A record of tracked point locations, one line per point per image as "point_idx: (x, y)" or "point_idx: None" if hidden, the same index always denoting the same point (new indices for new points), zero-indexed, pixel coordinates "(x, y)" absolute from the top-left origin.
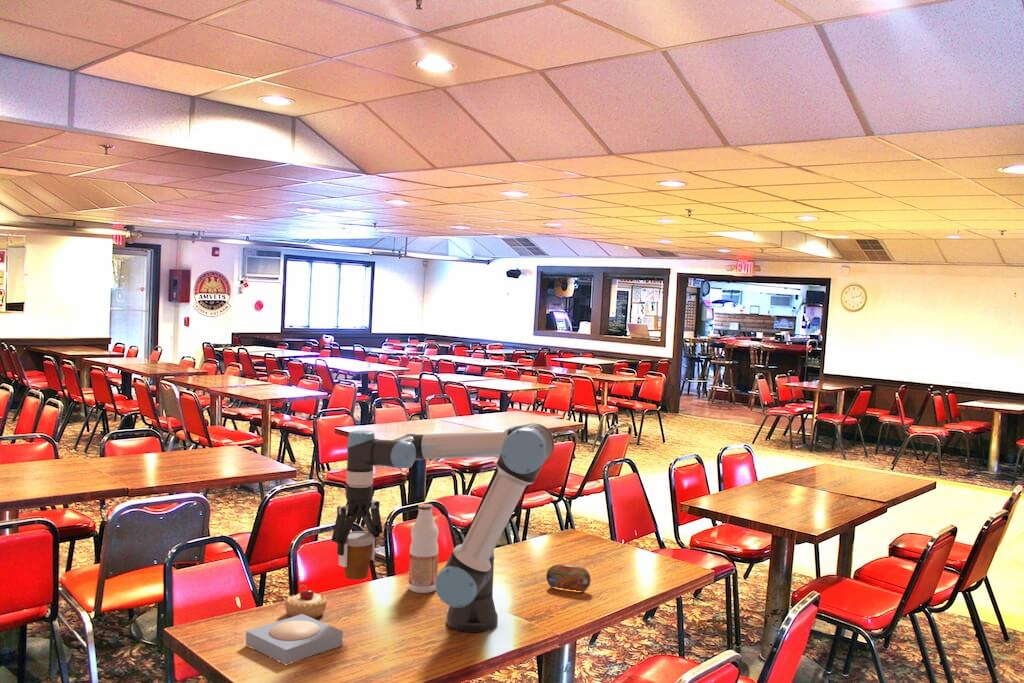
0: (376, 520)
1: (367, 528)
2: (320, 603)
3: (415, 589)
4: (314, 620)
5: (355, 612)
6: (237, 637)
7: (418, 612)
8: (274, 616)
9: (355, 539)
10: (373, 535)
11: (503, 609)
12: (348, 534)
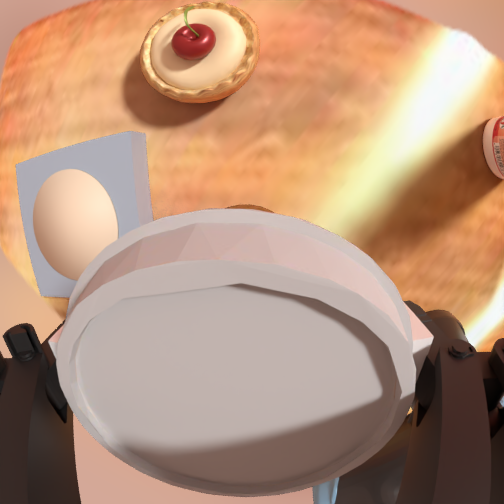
0: (496, 496)
1: (438, 419)
2: (209, 94)
3: (487, 151)
4: (130, 195)
5: (316, 130)
6: (41, 113)
7: (417, 246)
8: (144, 35)
9: (140, 468)
10: (419, 398)
11: (484, 330)
12: (73, 465)
